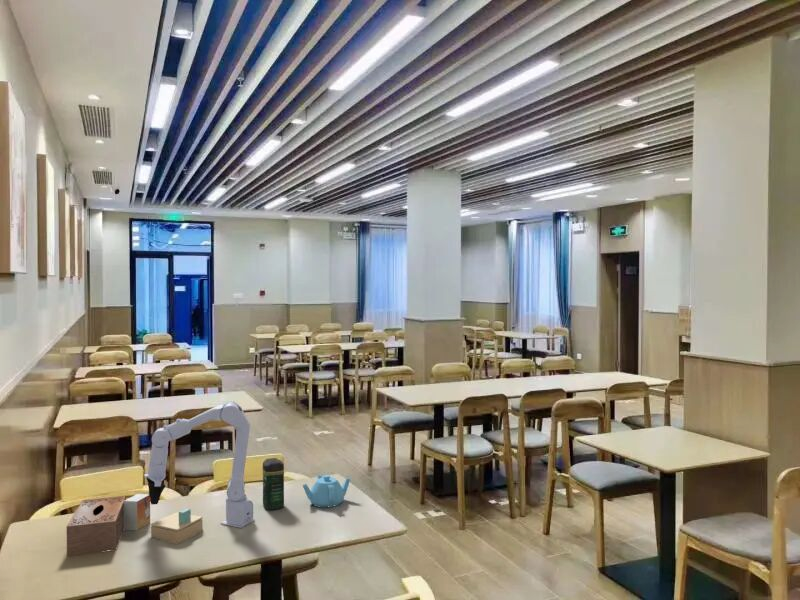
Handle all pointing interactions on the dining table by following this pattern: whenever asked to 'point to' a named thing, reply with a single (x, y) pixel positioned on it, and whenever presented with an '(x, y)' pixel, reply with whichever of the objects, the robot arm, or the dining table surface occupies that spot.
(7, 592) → the dining table surface
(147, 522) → the small box
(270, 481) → the coffee jar
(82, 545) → the tissue box cover
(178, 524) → the tan flat square block
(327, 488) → the teapot
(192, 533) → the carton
